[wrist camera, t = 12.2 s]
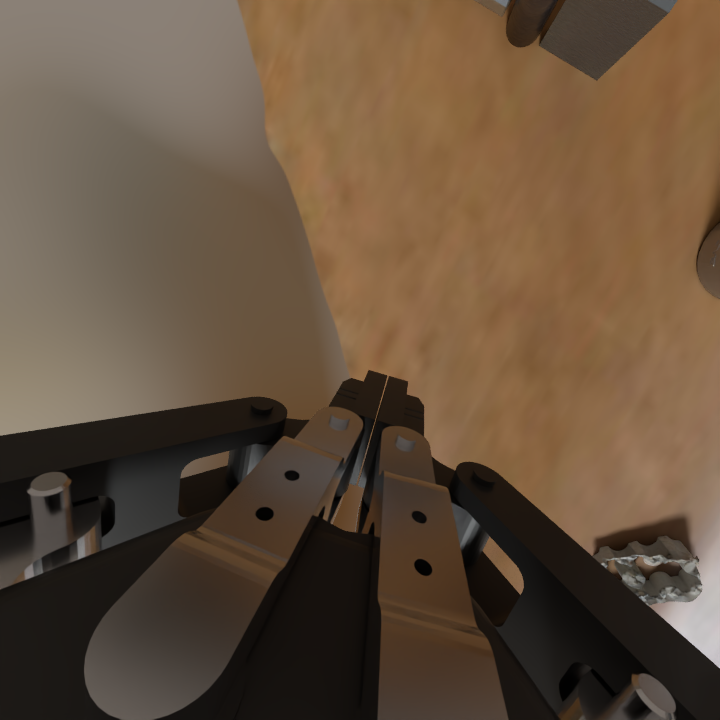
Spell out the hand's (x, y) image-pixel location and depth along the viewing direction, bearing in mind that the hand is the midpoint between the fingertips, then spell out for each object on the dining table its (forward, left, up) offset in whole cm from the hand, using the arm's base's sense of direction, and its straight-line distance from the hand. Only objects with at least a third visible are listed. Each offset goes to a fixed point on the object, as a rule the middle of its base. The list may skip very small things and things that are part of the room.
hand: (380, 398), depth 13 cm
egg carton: (-38, +25, -30) cm, 55 cm away
